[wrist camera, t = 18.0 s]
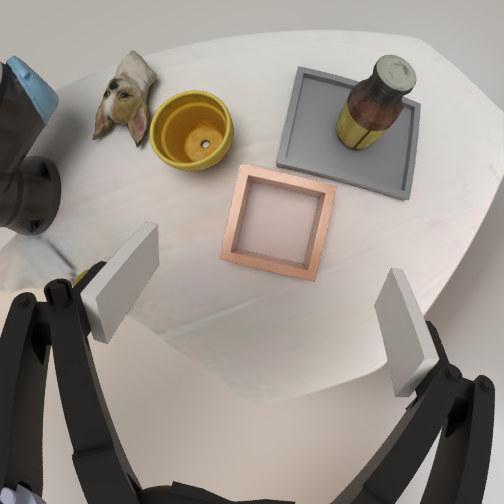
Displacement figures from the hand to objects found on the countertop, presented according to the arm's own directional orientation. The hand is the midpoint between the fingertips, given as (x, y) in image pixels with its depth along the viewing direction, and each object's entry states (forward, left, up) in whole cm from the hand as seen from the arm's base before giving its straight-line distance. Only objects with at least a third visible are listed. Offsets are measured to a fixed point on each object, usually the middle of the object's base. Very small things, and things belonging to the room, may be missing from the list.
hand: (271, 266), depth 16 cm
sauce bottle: (+8, +18, -27) cm, 34 cm away
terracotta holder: (0, +3, -28) cm, 28 cm away
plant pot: (-13, +12, -28) cm, 33 cm away
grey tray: (+8, +19, -28) cm, 34 cm away
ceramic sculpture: (-27, +17, -28) cm, 43 cm away
